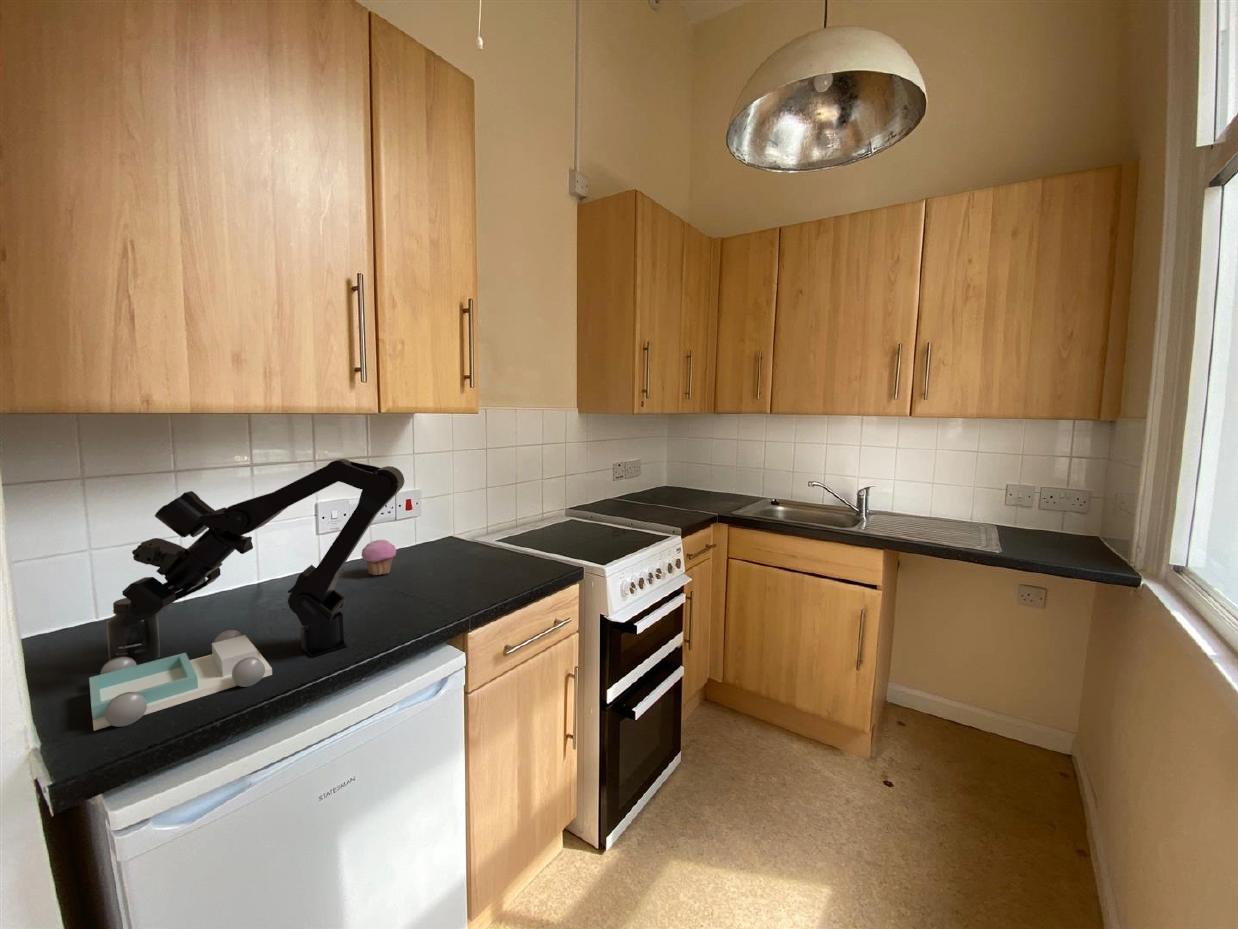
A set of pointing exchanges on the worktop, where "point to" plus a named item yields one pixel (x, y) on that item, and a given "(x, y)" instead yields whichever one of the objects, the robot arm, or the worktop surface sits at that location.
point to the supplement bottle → (132, 636)
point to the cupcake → (379, 556)
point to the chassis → (172, 680)
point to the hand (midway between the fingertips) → (141, 615)
